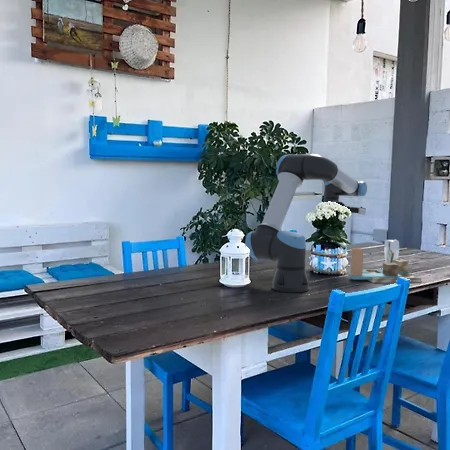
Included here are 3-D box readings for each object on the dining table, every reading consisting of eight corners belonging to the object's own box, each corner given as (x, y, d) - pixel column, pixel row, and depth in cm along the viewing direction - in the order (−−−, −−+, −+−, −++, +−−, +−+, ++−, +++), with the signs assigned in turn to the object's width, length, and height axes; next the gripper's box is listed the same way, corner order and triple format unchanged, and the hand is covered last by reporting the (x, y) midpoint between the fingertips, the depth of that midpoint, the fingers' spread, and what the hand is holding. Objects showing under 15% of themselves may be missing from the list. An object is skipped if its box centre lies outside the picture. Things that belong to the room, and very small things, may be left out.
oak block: (399, 272, 217) (399, 261, 217) (392, 270, 222) (392, 259, 222) (408, 271, 219) (408, 261, 218) (400, 269, 224) (401, 259, 223)
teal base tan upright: (353, 279, 207) (354, 249, 205) (348, 276, 213) (349, 247, 212) (402, 278, 208) (403, 249, 207) (395, 275, 215) (396, 247, 213)
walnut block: (386, 275, 208) (387, 264, 208) (382, 273, 213) (383, 262, 213) (397, 275, 209) (398, 264, 208) (393, 273, 214) (393, 262, 213)
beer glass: (399, 272, 228) (400, 241, 226) (384, 271, 229) (385, 241, 228) (397, 269, 235) (398, 239, 233) (382, 268, 236) (383, 239, 235)
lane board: (372, 282, 206) (372, 277, 205) (357, 273, 225) (357, 269, 224) (421, 282, 207) (421, 277, 207) (402, 273, 226) (402, 268, 226)
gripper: (360, 215, 240) (375, 220, 219) (312, 215, 239) (323, 220, 218) (360, 201, 240) (376, 204, 219) (312, 201, 238) (323, 203, 217)
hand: (349, 212), depth 218 cm, fingers open, 13 cm apart
